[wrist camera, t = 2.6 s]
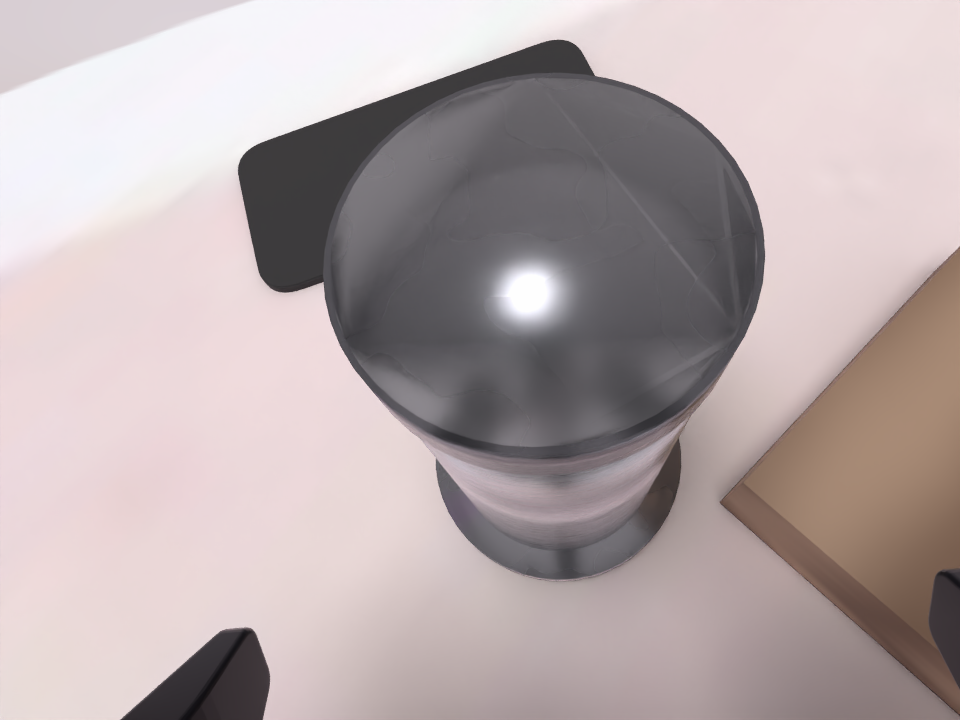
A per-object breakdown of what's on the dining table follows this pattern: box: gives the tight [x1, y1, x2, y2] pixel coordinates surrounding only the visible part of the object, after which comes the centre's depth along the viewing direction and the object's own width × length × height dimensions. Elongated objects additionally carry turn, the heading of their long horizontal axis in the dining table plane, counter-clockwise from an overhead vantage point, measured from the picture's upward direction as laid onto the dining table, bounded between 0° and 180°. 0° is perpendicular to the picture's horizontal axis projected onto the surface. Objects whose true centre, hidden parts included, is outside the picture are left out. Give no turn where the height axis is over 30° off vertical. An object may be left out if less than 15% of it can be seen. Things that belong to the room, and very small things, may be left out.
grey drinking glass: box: [323, 73, 765, 581], centre depth 15 cm, size 8×8×13 cm
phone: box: [238, 40, 595, 292], centre depth 26 cm, size 7×1×15 cm
